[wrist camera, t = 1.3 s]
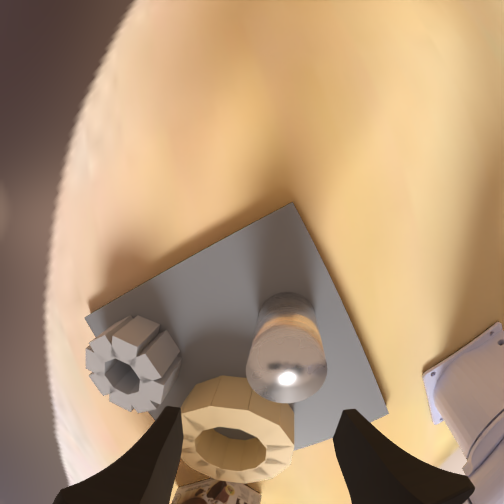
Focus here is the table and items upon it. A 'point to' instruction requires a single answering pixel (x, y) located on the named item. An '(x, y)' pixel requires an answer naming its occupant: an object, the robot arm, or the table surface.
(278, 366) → the metal cylinder
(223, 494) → the coffee box
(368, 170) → the table surface
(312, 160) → the table surface
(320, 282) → the fitting board
